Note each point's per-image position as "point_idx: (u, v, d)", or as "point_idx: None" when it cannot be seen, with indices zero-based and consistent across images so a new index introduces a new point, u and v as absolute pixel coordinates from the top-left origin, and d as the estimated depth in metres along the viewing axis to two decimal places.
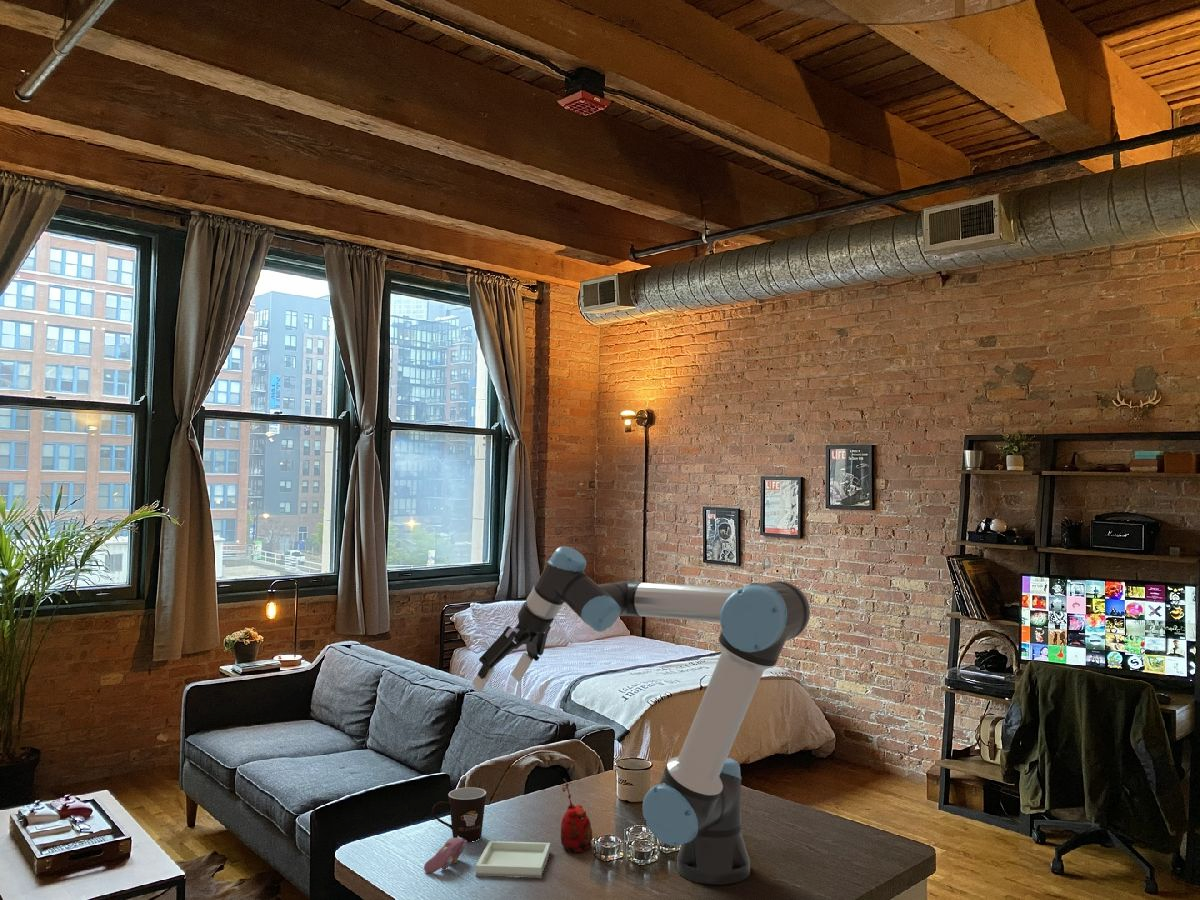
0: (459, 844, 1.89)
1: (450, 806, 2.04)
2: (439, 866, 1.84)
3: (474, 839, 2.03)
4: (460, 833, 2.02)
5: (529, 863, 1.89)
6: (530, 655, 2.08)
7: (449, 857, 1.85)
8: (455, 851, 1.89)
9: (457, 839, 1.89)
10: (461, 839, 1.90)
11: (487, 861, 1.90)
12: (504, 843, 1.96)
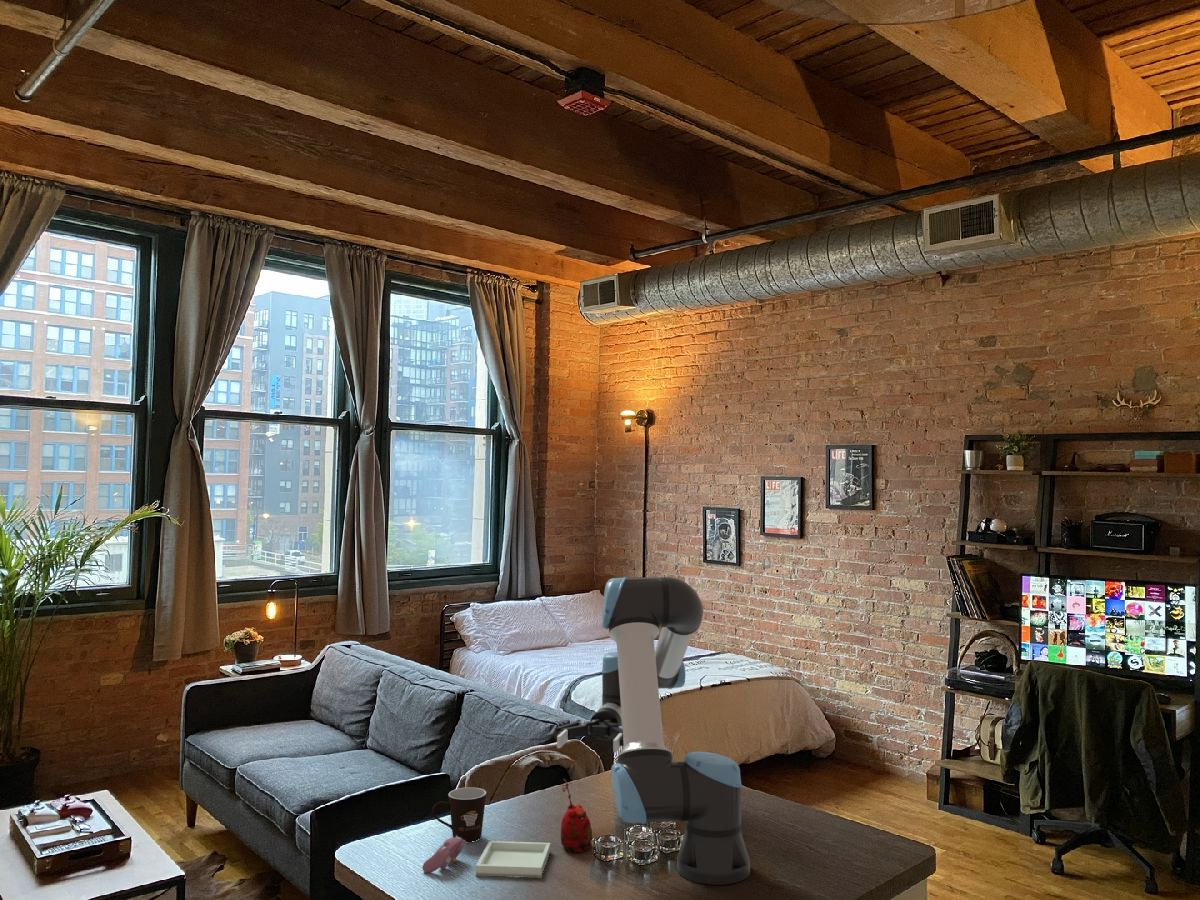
0: (457, 844, 1.89)
1: (450, 806, 2.04)
2: (437, 866, 1.84)
3: (474, 839, 2.03)
4: (460, 833, 2.02)
5: (529, 863, 1.89)
6: None
7: (447, 857, 1.85)
8: (454, 851, 1.89)
9: (455, 839, 1.89)
10: (459, 839, 1.90)
11: (487, 861, 1.90)
12: (504, 843, 1.96)
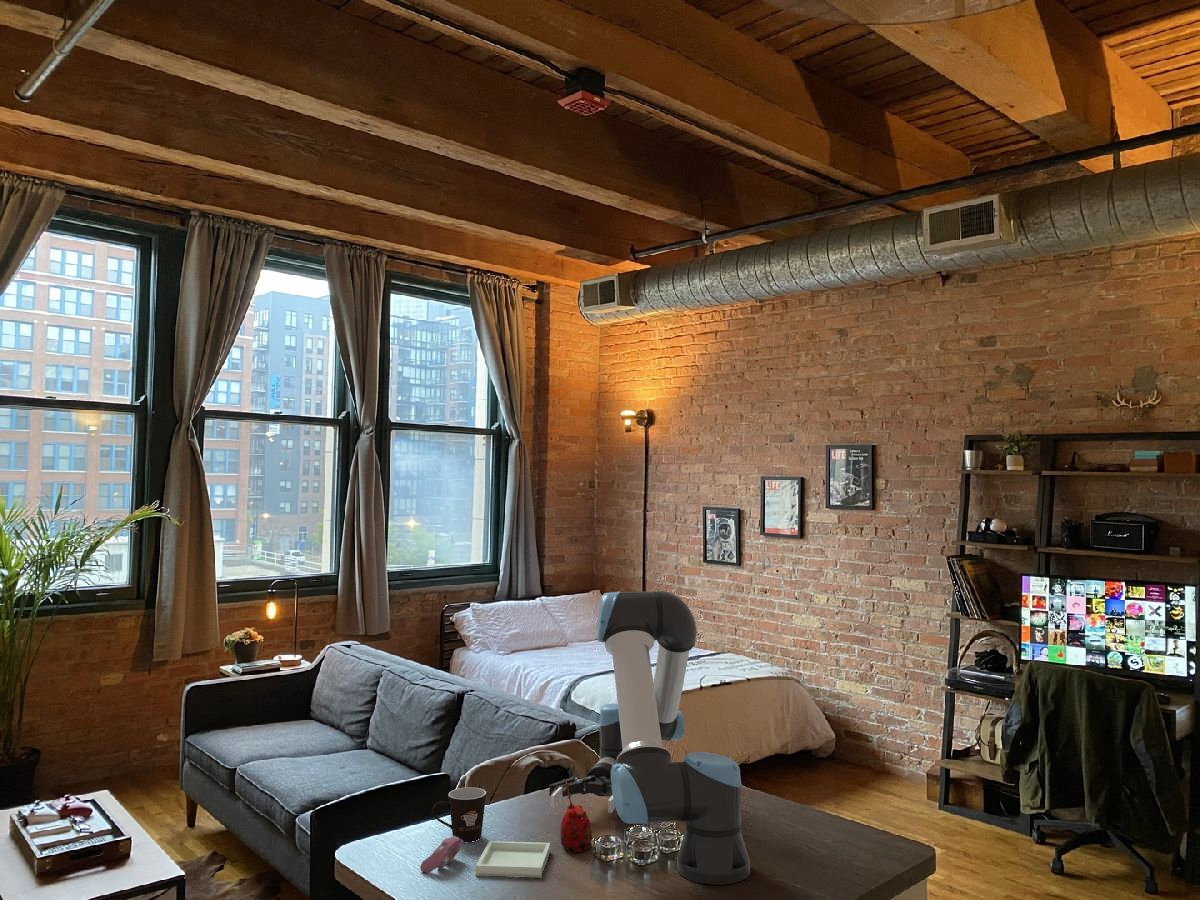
0: (455, 844, 1.89)
1: (450, 806, 2.04)
2: (435, 865, 1.85)
3: (474, 839, 2.03)
4: (460, 833, 2.02)
5: (529, 863, 1.89)
6: None
7: (445, 856, 1.85)
8: (452, 850, 1.89)
9: (453, 839, 1.90)
10: (457, 839, 1.91)
11: (487, 861, 1.90)
12: (504, 843, 1.96)
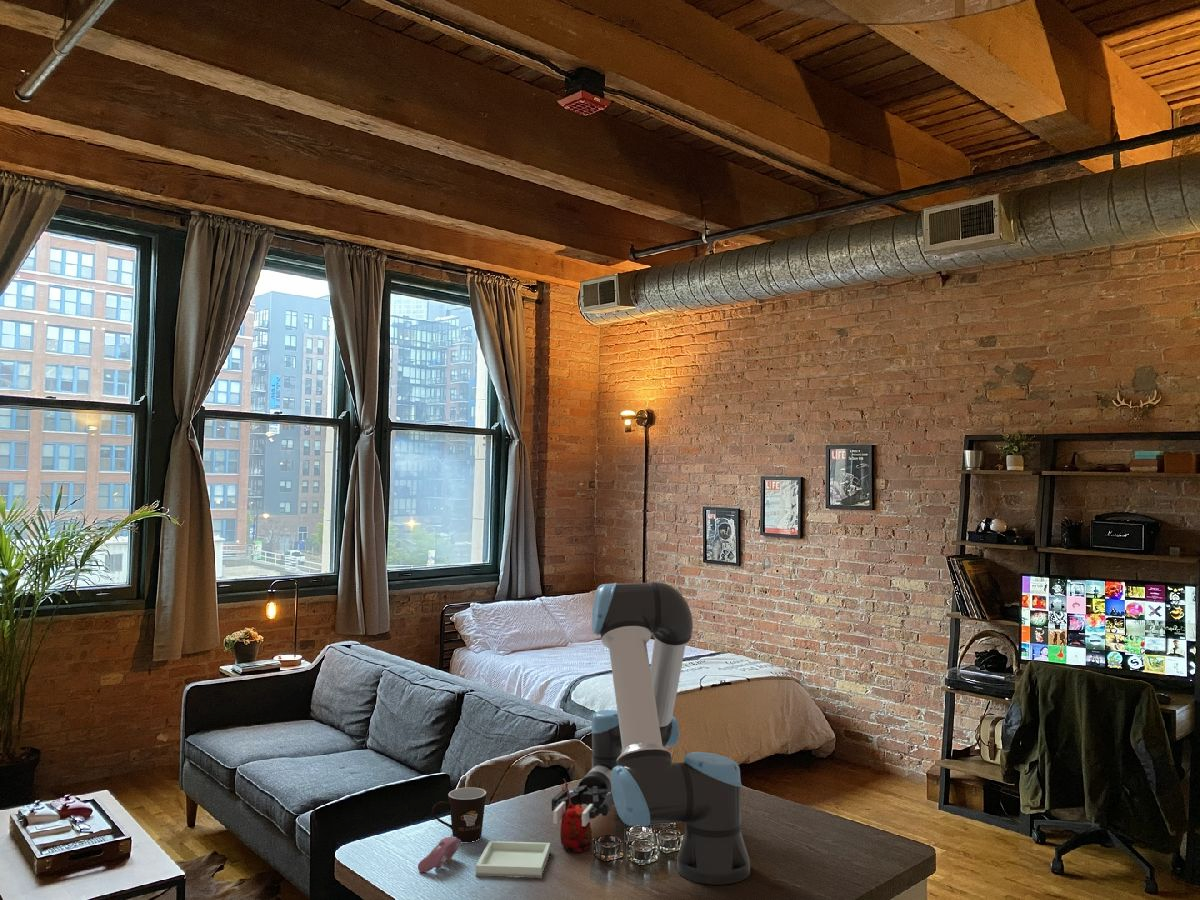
0: (453, 843, 1.90)
1: (450, 806, 2.04)
2: (433, 865, 1.85)
3: (474, 839, 2.03)
4: (460, 833, 2.02)
5: (529, 863, 1.89)
6: None
7: (443, 856, 1.85)
8: (449, 850, 1.89)
9: (451, 838, 1.90)
10: (455, 838, 1.91)
11: (487, 861, 1.90)
12: (504, 843, 1.96)
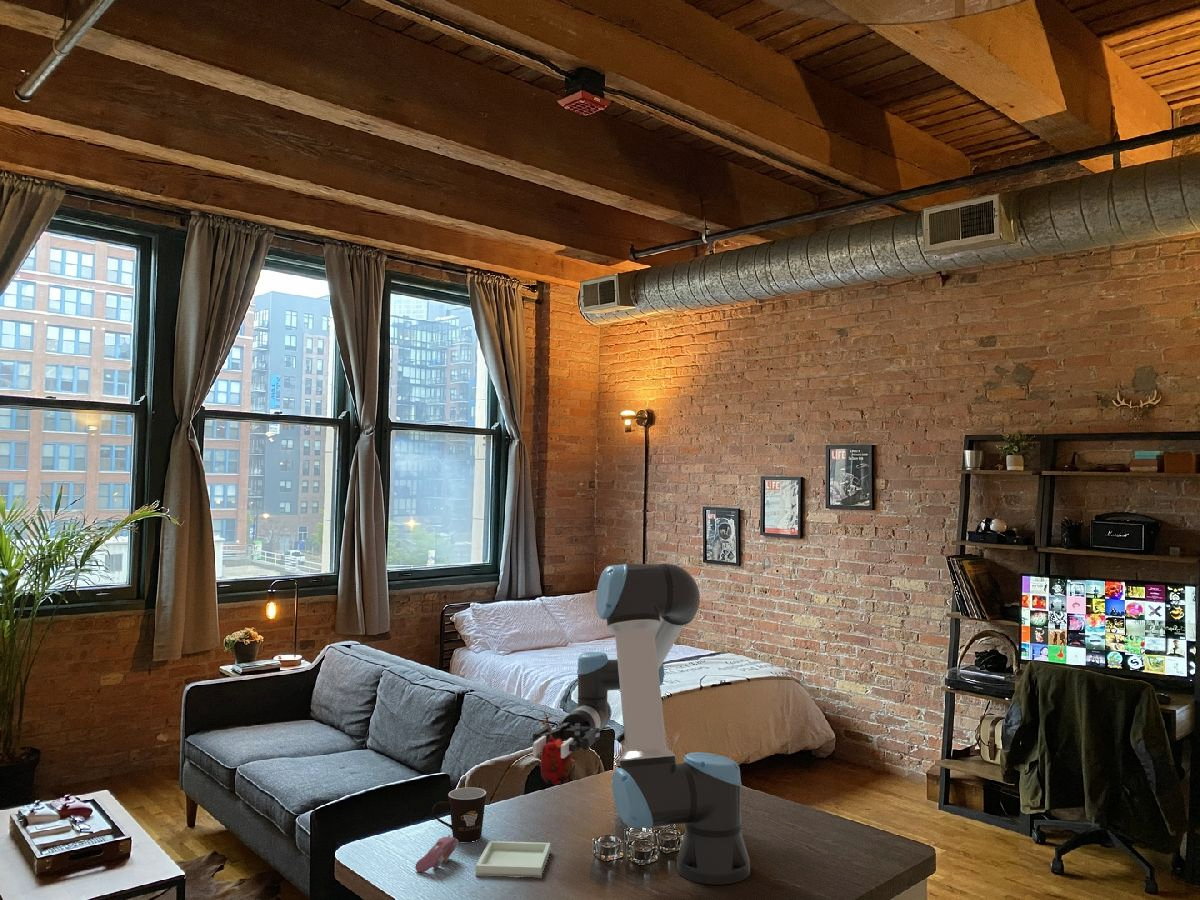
0: (450, 843, 1.90)
1: (450, 806, 2.04)
2: (430, 865, 1.85)
3: (474, 839, 2.03)
4: (460, 833, 2.02)
5: (529, 863, 1.89)
6: None
7: (440, 856, 1.86)
8: (447, 850, 1.90)
9: (448, 838, 1.90)
10: (452, 838, 1.91)
11: (487, 861, 1.90)
12: (504, 843, 1.96)
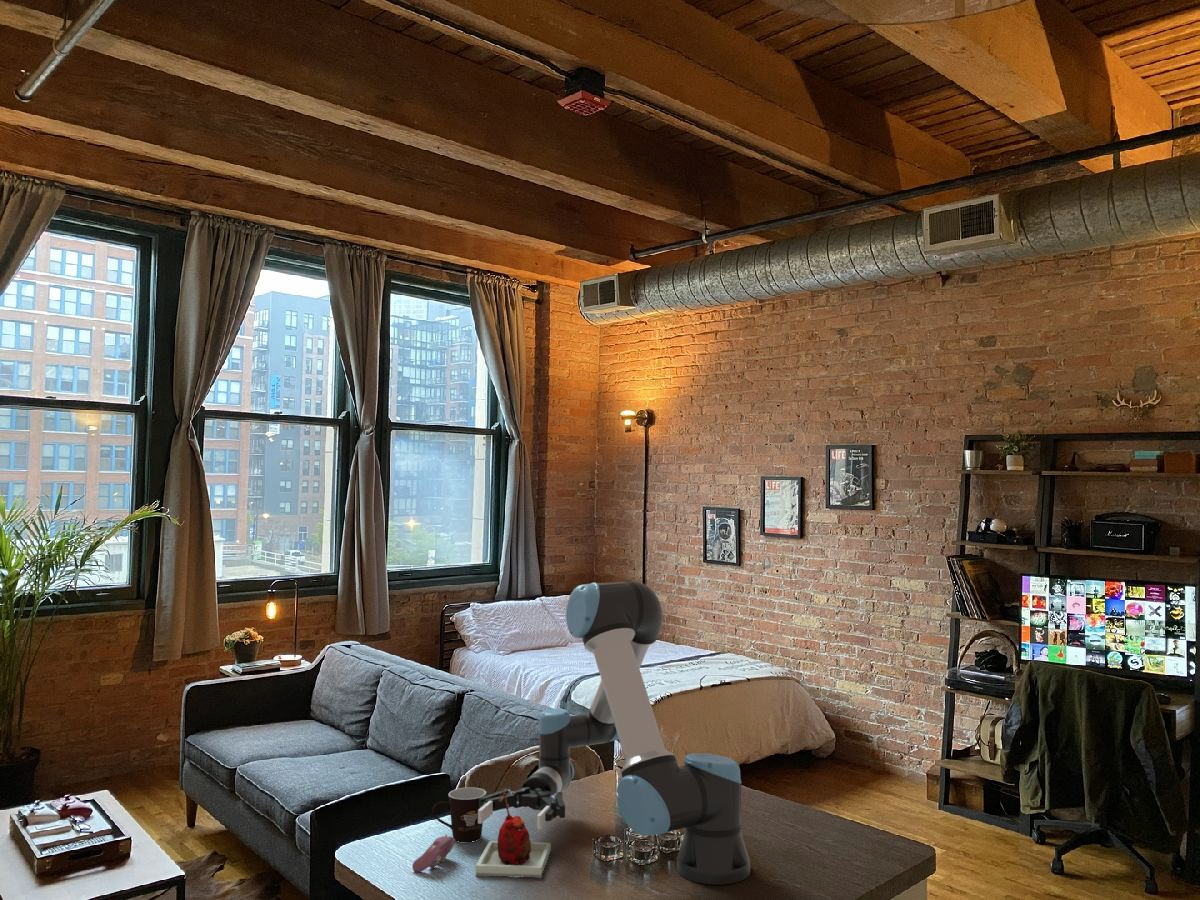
0: (447, 843, 1.90)
1: (450, 806, 2.04)
2: (427, 865, 1.85)
3: (474, 839, 2.03)
4: (460, 833, 2.02)
5: (529, 863, 1.89)
6: None
7: (437, 856, 1.86)
8: (444, 850, 1.90)
9: (445, 838, 1.90)
10: (449, 838, 1.91)
11: (487, 861, 1.90)
12: None
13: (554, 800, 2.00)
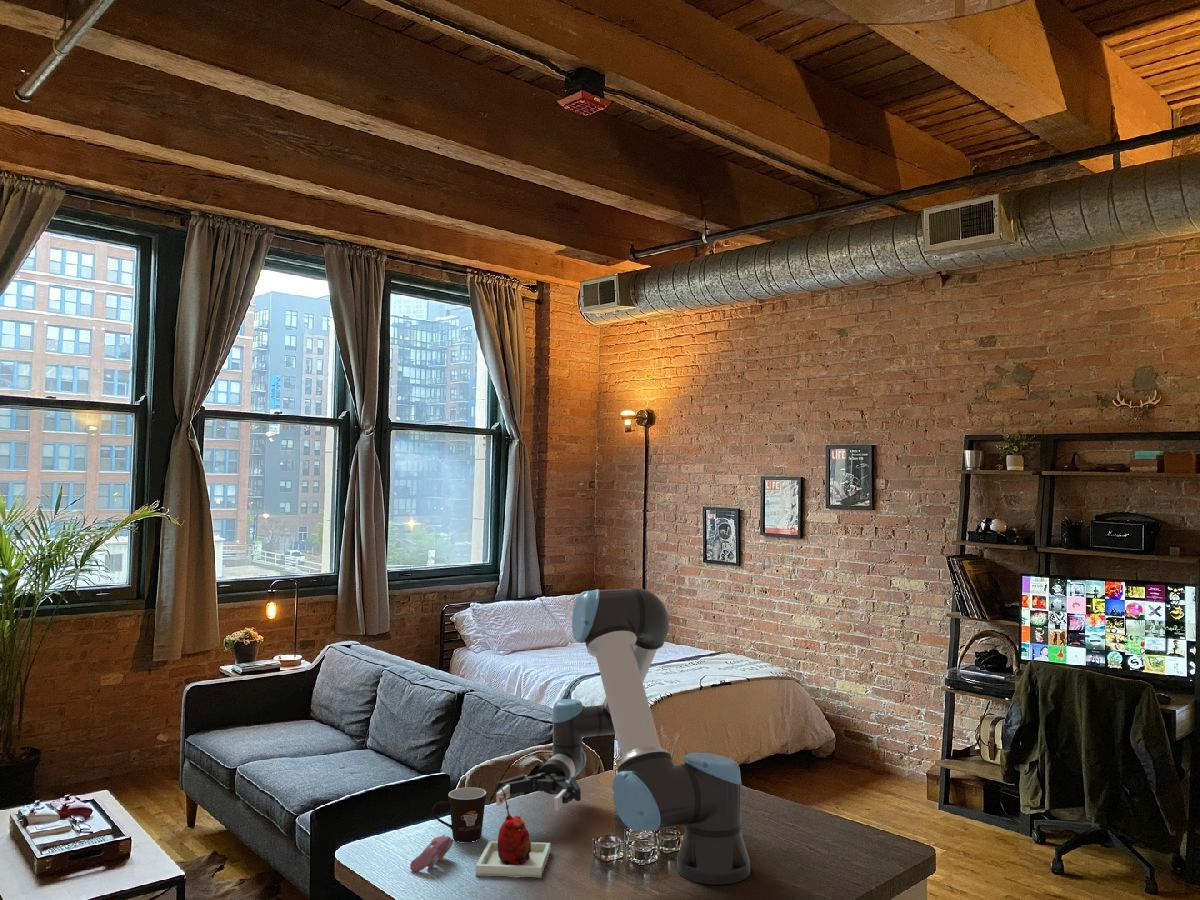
0: (445, 842, 1.90)
1: (450, 806, 2.04)
2: (425, 864, 1.85)
3: (474, 839, 2.03)
4: (460, 833, 2.02)
5: (529, 863, 1.89)
6: None
7: (435, 855, 1.86)
8: (441, 849, 1.90)
9: (443, 837, 1.90)
10: (447, 837, 1.91)
11: (487, 861, 1.90)
12: None
13: (569, 784, 2.10)
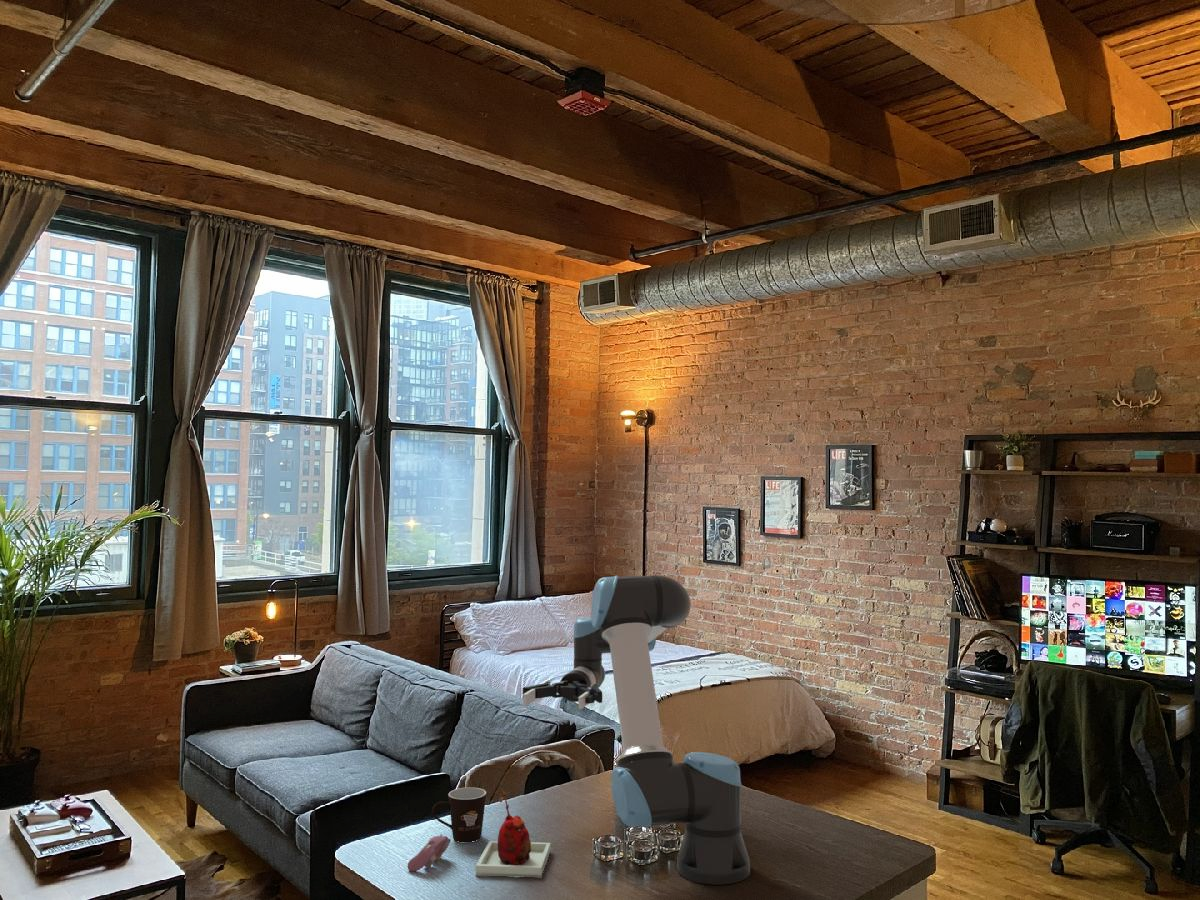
0: (442, 842, 1.90)
1: (450, 806, 2.04)
2: (423, 864, 1.85)
3: (474, 839, 2.03)
4: (460, 833, 2.02)
5: (529, 863, 1.89)
6: None
7: (432, 855, 1.86)
8: (439, 849, 1.90)
9: (440, 837, 1.90)
10: (444, 837, 1.91)
11: (487, 861, 1.90)
12: None
13: None
